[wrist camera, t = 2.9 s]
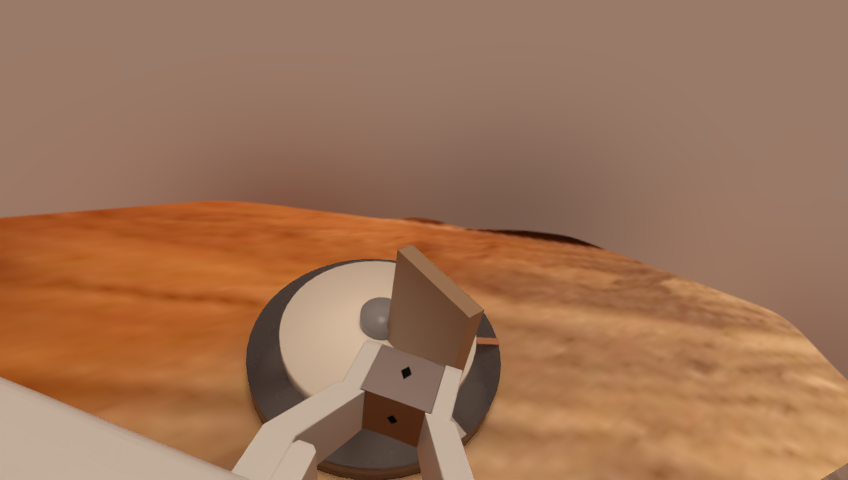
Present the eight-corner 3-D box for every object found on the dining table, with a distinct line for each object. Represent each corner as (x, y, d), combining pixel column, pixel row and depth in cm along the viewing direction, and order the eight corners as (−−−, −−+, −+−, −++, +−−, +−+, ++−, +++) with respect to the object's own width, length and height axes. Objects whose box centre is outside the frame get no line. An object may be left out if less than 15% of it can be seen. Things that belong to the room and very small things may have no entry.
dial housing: (185, 416, 28) (179, 398, 27) (326, 252, 45) (326, 236, 44) (470, 530, 25) (478, 517, 24) (507, 308, 42) (513, 293, 40)
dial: (249, 310, 34) (233, 205, 28) (401, 255, 43) (413, 167, 37) (347, 482, 24) (354, 380, 18) (515, 363, 33) (558, 269, 27)
